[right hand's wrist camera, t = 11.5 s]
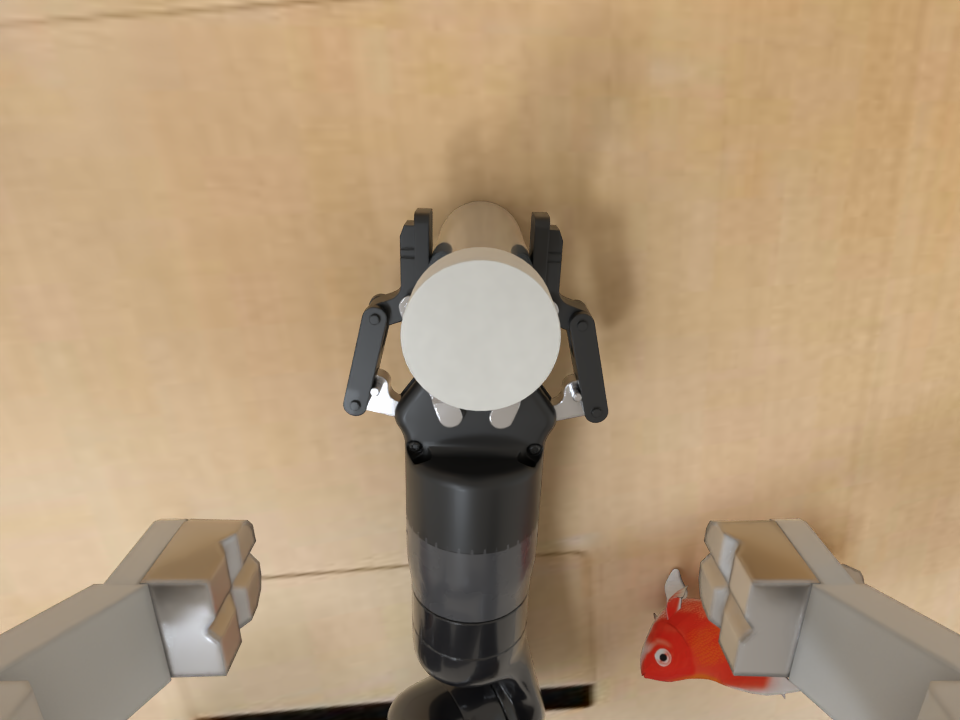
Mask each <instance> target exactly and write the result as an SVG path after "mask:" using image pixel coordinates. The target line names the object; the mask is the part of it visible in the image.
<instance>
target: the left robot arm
mask: <svg viewBox="0 0 960 720" xmlns="http://www.w3.org/2000/svg"><path fill="white" fill-rule="evenodd" d="M562 247H563V240H562V237H561V233H560V230H559V229H558V227H557V226H556V225H550V217H549V215H548V214H547V213H546V212H532V217H531V233H530V249H529V256H530V259H531V262H532V265H533V268H534V270H535V271H537V273H538V274H539V275H540V277H541V278H542V279H543V281H544V283H545V284H546V286H547V288H548V290H549V293H550V295H551V298H552V300H553V303H554V305H555V308H556V311H557V313H558V317H559V321H560V328H563V329H566V330H567V335H568V341H569V347H570V353H571V358H572V364H573V370H574V374H571V375H568V376H567V377H565V378H564V380H563V382H562V390H561V392H560V394H559V395H558V396H556V397H555V398H551V397H550V395H549V394H548V392H547V391H546V390H545V388H544V387H543V385H542V384H541V386H540V387H539V388H538V389H536V390H535V391H534V392H533V393H532V394H530V395H529V396H528V397H526V398H525V399H523V400H521V401H519V402H517V403H515V404H513V405H510V406H508V407H504V408H500V409H496V410H489V411H473V410H465V409H461V408H457V407H454V406H451V405H448V404H446V403H444V402H442V401H440V400H438V399H437V398H435V397H434V396H432V395H431V394H430V393H428V392H427V391H426V390H425V389H424V388H423V387H422V386H421V385H420V384H419V383H418V382H417V381H416V379H415V378H413V379H412V380H411V381H410V383H409V384H408V385H407V387H406V388H405V389H404V390H403V392H402V393H401V394H398V393H396V392H395V391H394V390H393V389H392V387H391V377H390V375H389V373H388V372H386V371H385V370H383V369H379V367H380V362H381V358H382V354H383V350H384V345H385V341H386V337H387V333H388V328H389V325H391V324H394V323H397V322H401V321H402V319H403V315H404V312H405V309H406V307H407V304H408V301H409V299H410V296H411V294H412V291H413V289H414V287H415V285H416V283H417V281H418V280H419V279H420V277H421V276H422V274H423V273H424V272H425V271H426V270H427V268H428V265H429V262H430V260H431V257H432V209H427V208H417V210H416V211H415V214H414V221H411V220H407V222H406V223H405V225H404V227H403V229H402V232H401V235H400V256H401V258H400V262H401V288H400V289H398V290H397V291H395V292H392V293H389V294H386V295H385V294H377V295H375V296H374V297H373V298H372V299H371V301H370V303H369V306H368V307H367V308H366V310H365V311H364V313H363V316H362V320H361V325H360V329H359V334H358V338H357V343H356V348H355V352H354V357H353V361H352V366H351V370H350V375H349V380H348V384H347V389H346V393H345V398H344V403H343V406H344V409H345V411H346V412H347V413H348V414H350V415H353V416H359V415H362V414H363V413H364V412H365V411H366V410H370V411H374V412H378V413H382V414H386V415H390V416H394V417H395V420H396V422H397V424H398V426H399V427H400V429H401V431H402V433H403V435H404V438H405V463H406V516H407V517H406V520H407V553H408V561H409V567H410V572H411V578H412V621H413V641H414V647H415V652H416V655H417V657H418V660H419V662H420V663H421V665H422V667H423V668H424V669H425V670H426V672H427V673H428V674H429V675H431V676H429V677H427V678H425V679H423V680H421V681H419V682H417V683H416V684H414V685H412V686H410V687H408V688H407V689H405V690H404V691H403V692H401V693H400V694H399V695H398V696H397V697H396V698H395V700H394V701H393V703H392V705H391V707H390V709H389V711H388V715H387V718H386V720H545V706H544V701H543V697H542V693H541V690H540V687H539V684H538V681H537V678H536V674H535V670H534V666H533V662H532V657H531V653H530V649H529V644H528V640H527V635H526V621H527V609H528V595H529V583H530V578H531V574H532V570H533V566H534V562H535V555H536V546H537V533H538V520H539V508H540V495H541V482H542V469H543V456H544V445H545V441H546V438H547V436H548V435H549V433H550V432H551V430H552V429H553V428H554V426H555V423H556V421H558V420H563V419H568V418H574V417H579V416H584V415H585V417H586V419H587V420H588V421H590V422H593V423H598V422H601V421H603V420H604V419H605V418H606V417H607V415H608V407H607V400H606V394H605V387H604V381H603V374H602V368H601V362H600V355H599V349H598V342H597V336H596V329H595V323H594V320H593V318H592V316H591V315H590V313H589V311H588V309H587V307H586V305H585V304H584V303H583V302H582V301H579V300H571V299H569V298H566V297H564V296H562V295H561V294H560V293H559V284H560V272H561V259H562Z"/></svg>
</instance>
